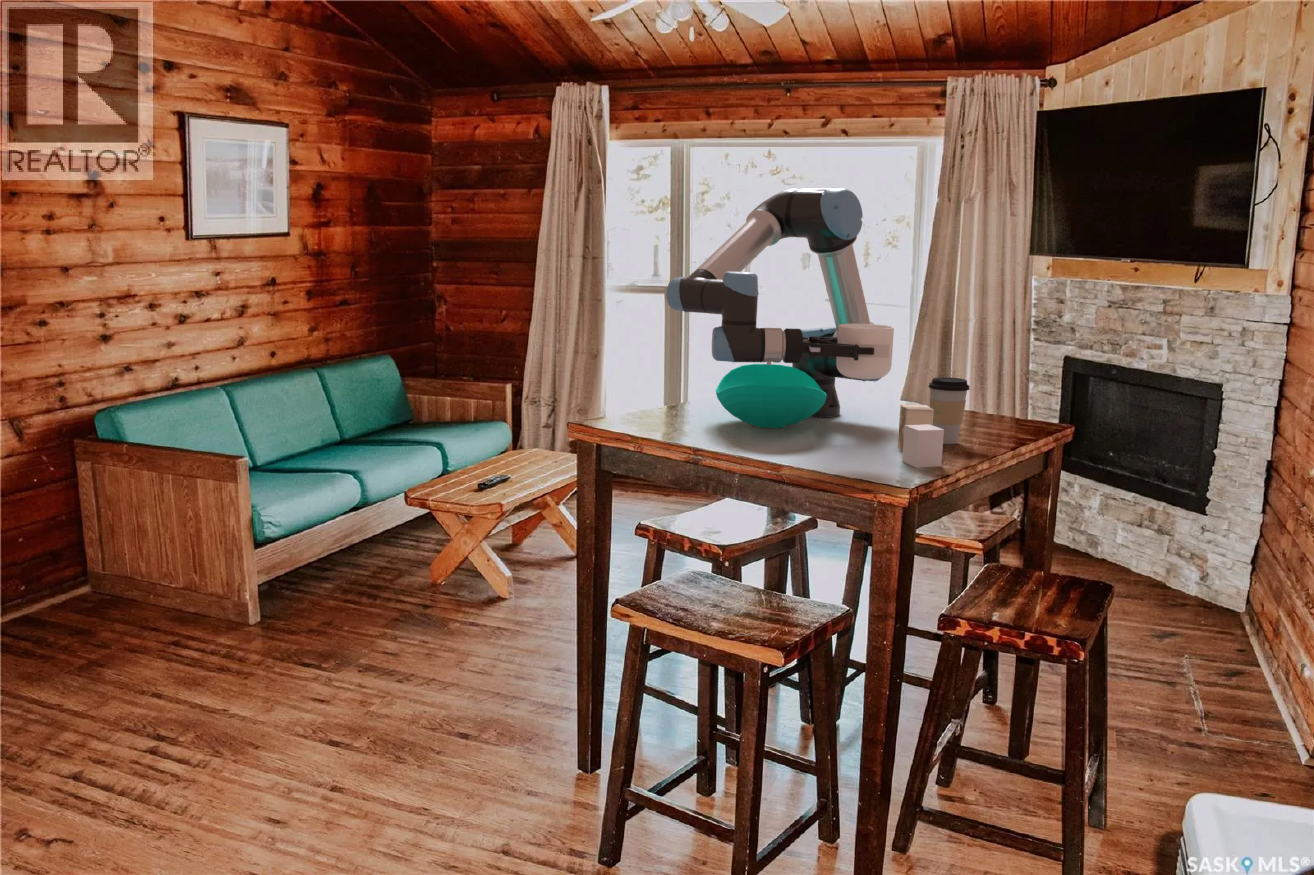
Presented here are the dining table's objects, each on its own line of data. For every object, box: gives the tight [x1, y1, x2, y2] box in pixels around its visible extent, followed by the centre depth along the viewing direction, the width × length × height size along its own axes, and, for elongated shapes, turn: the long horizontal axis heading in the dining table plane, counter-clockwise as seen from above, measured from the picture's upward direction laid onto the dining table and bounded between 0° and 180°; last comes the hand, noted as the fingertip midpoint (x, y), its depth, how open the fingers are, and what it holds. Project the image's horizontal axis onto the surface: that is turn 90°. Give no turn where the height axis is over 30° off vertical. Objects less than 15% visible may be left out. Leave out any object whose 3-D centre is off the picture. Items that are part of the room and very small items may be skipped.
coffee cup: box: [928, 376, 971, 445], centre depth 246 cm, size 9×9×15 cm
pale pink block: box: [901, 424, 944, 468], centre depth 222 cm, size 6×6×8 cm
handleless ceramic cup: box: [836, 323, 895, 379], centre depth 226 cm, size 12×12×11 cm
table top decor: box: [715, 363, 827, 429], centre depth 261 cm, size 40×28×13 cm
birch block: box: [897, 404, 934, 452], centre depth 236 cm, size 6×6×10 cm
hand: (881, 347), depth 226 cm, fingers closed on handleless ceramic cup, 12 cm apart
